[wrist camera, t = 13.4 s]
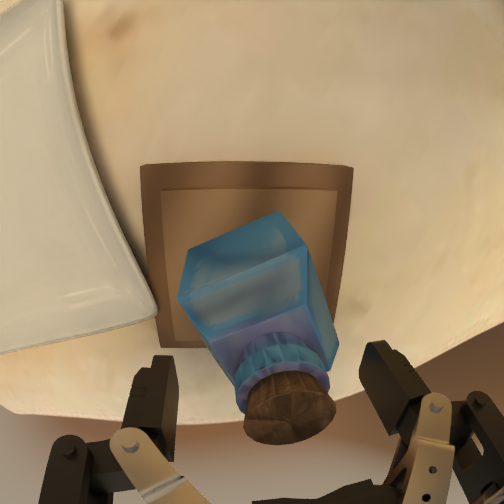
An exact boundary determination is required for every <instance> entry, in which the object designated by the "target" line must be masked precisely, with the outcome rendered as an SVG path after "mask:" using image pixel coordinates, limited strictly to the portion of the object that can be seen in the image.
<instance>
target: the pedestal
mask: <svg viewBox="0 0 504 504" xmlns="http://www.w3.org/2000/svg"><path fill="white" fill-rule="evenodd" d="M140 180H141V198H142V212H143V224H144V235H145V245H146V255H147V263H148V271H149V279H150V286H151V292H152V295H153V297H154V299H155V302H156V304H157V307H158V314H157V315H156V316H155V319H156V325H157V330H158V336H159V341H160V347H161V348H207V346H206V344H205V343H204V341H203V340H202V338H201V337H200V335H199V334H198V332H197V331H196V329H195V327H194V326H193V324H192V323H191V321H190V320H189V318H188V316H187V315H186V313H185V311H184V310H183V308H182V307H181V305H180V303H179V302H178V300H177V295H178V291H179V286H180V282H181V277H182V273H183V269H184V265H185V260H186V256H187V252H188V249H191V248H193V247H195V246H197V245H200V244H202V243H204V242H206V241H209V240H211V239H213V238H216V237H218V236H220V235H222V234H225V233H227V232H229V231H232V230H234V229H236V228H239V227H241V226H243V225H246V224H248V223H250V222H253V221H255V220H257V219H260V218H262V217H264V216H267V215H269V214H272V213H274V212H276V211H280V212H281V214H282V215H283V216H284V217H285V218H286V220H287V221H288V222H289V223H290V224H291V226H292V227H293V228H294V229H295V231H296V232H297V233H298V234H299V235H300V237H301V238H302V239H303V240H304V242H305V243H306V244H307V247H308V250H309V253H310V255H311V258H312V261H313V264H314V267H315V270H316V273H317V276H318V279H319V282H320V285H321V288H322V291H323V294H324V297H325V300H326V303H327V306H328V309H329V312H330V315H331V318H332V322H333V323H334V318H335V312H336V307H337V301H338V295H339V289H340V283H341V276H342V269H343V262H344V255H345V248H346V240H347V232H348V223H349V214H350V204H351V193H352V181H353V168H352V167H348V166H343V165H329V164H313V163H292V162H254V161H220V162H182V163H161V164H145V165H143V166H140Z"/></svg>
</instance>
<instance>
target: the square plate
mask: <svg viewBox="0 0 504 504" xmlns="http://www.w3.org/2000/svg"><path fill="white" fill-rule="evenodd" d="M157 314H158V307H157V304H156V302H155V299H154V297H153V295H152V292H151V290H150V288H149V286H148V284H147V282H146V279H145V277H144V275H143V273H142V271H141V269H140V267H139V265H138V263H137V261H136V259H135V257H134V255H133V253H132V251H131V249H130V247H129V245H128V242H127V240H126V238H125V236H124V234H123V232H122V230H121V227H120V225H119V223H118V221H117V218H116V216H115V214H114V211H113V209H112V207H111V204H110V202H109V200H108V197H107V195H106V192H105V189H104V187H103V184H102V182H101V179H100V176H99V174H98V171H97V168H96V166H95V163H94V160H93V157H92V154H91V151H90V148H89V145H88V141H87V138H86V135H85V132H84V128H83V125H82V121H81V117H80V113H79V109H78V105H77V101H76V97H75V92H74V87H73V81H72V75H71V70H70V63H69V56H68V48H67V40H66V30H65V17H64V4H63V0H19V1H17V2H16V3H15V4H13V5H12V6H11V7H9V8H8V9H7V10H5V11H4V12H3V13H1V14H0V355H1V354H6V353H10V352H15V351H19V350H24V349H29V348H34V347H38V346H42V345H47V344H52V343H57V342H61V341H65V340H69V339H75V338H80V337H84V336H89V335H93V334H97V333H101V332H106V331H110V330H114V329H118V328H122V327H125V326H129V325H133V324H136V323H139V322H142V321H146V320H149V319H152V318H154V317H155V316H156V315H157Z"/></svg>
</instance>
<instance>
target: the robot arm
mask: <svg viewBox="0 0 504 504" xmlns="http://www.w3.org/2000/svg"><path fill="white" fill-rule="evenodd" d="M359 378H360V381H361V383H362V385H363V387H364V389H365V391H366V393H367V395H368V396H369V398H370V400H371V402H372V404H373V406H374V408H375V410H376V412H377V413H378V415H379V417H380V419H381V421H382V423H383V425H384V427H385V429H386V431H387V433H388V435H389V436H390V435H393V434H396V433H399V434H400V436H401V437H400V438H399V440H398V443H397V447H396V450H395V454H394V457H393V460H392V463H391V466H390V470H389V472H388V475H387V477H386V479H385V480H384V482H383V484H382V485H373V483H372V481H371V479H368V480H365V481H361V482H358V483H354V484H350V485H346V486H343V487H342V488H339V489H337V490H335V491H334V492H331V493H329V494H327V495H325V496H322V497H320V498H318V499H292V498H278V499H270V500H260V501H252V504H446V500H447V495H448V490H449V485H450V479H451V474H452V468H453V470H454V472H455V474H456V476H457V478H458V480H459V483H460V485H461V487H462V489H463V491H464V493H465V495H466V497H467V499H468V502H469V504H504V416H503V415H502V414H501V412H500V411H499V410H498V408H497V407H496V405H495V404H494V403H493V401H492V400H491V399H490V397H489V396H488V395H487V394H485V393H483V392H480V391H473V392H471V393H469V395H468V396H467V398H466V400H465V401H452V402H450V401H449V399H448V398H447V397H445V396H444V395H442V394H438V393H432V392H431V391H430V390H429V388H428V387H427V386H426V384H425V383H424V381H423V380H422V379H421V377H420V376H419V375H418V373H417V372H416V371H415V369H414V368H413V367H412V365H410V363H409V361H408V360H407V359H406V357H405V356H404V355H403V354H401V353H400V352H398V351H397V350H395V349H394V350H392V348H391V347H390V346H389V344H388V343H387V342H386V341H385V340H380V341H374V342H369V343H367V345H366V347H365V351H364V354H363V358H362V361H361V364H360V367H359ZM178 400H179V385H178V379H177V374H176V368H175V363H174V358H173V356H167V355H154V357H153V360H152V365H151V368H141V369H140V370H139V371H138V372H137V374H136V375H135V376H134V379H133V383H132V388H131V391H130V396H129V398H128V402H127V406H126V411H125V415H124V419H123V423H122V427H121V429H120V430H118V431H117V432H115V434H113V436H112V437H111V438H110V439H108V440H104V441H98V442H90V443H85V442H84V441H83V440H82V439H81V438H80V437H78V436H74V435H65V436H62V437H60V438H58V439H57V440H56V441H55V442H54V444H53V446H52V449H51V452H50V456H49V460H48V463H47V467H46V471H45V476H44V480H43V484H42V489H41V493H40V499H39V504H113V493H114V492H120V491H126V490H133V489H137V491H138V492H139V494H140V495H141V496H142V498H143V499H144V501H145V502H146V503H147V504H211V503H210V502H209V501H208V500H207V499H206V498H205V497H204V496H203V495H202V494H201V493H200V492H199V491H198V490H197V489H196V488H195V487H194V486H193V485H192V484H191V483H190V482H189V481H188V480H187V479H186V478H185V477H184V476H181V475H179V473H178V472H177V471H176V470H175V469H174V468H173V467H172V466H171V464H170V463H169V462H174V450H175V436H176V423H177V411H178ZM474 433H475V434H476V436H477V438H478V439H479V441H480V443H481V444H482V446H483V448H484V453H483V456H482V455H481V453H480V451H479V450H478V448H477V446H476V445H475V443H474V441H473V439H472V438H471V437H472V435H473V434H474Z"/></svg>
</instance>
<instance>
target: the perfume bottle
mask: <svg viewBox="0 0 504 504" xmlns="http://www.w3.org/2000/svg"><path fill="white" fill-rule="evenodd" d="M177 300H178V302H179V303H180V305H181V307H182V308H183V310H184V311H185V313H186V315H187V316H188V318H189V320H190V321H191V323H192V324H193V326H194V327H195V329H196V331H197V332H198V334H199V335H200V337H201V338H202V340H203V341H204V343H205V344H206V346H207V348H208V349H209V351H210V352H211V354H212V355H213V357H214V358H215V359H216V361H217V362H218V364H219V365H220V367H221V368H222V370H223V371H224V373H225V374H226V376H227V377H228V378H229V380H230V381H231V383H232V384H233V385H234V387H235V394H236V403H237V405H238V407H239V409H240V411H241V412H242V413H244V414H245V418H244V427H243V428H244V430H245V432H246V434H247V436H249V437H250V438H252V439H253V440H254V441H257V442H260V443H263V444H269V445H285V444H292V443H295V442H299V441H303V440H306V439H308V438H310V437H312V436H314V435H316V434H318V433H319V432H321V431H322V430H323V429H325V428H326V427H327V426H328V425H329V423H330V422H331V421H332V420H333V418H334V416H335V413H336V404H335V402H334V401H333V400H332V398H331V397H330V396H329V394H328V391H329V389H330V382H329V377H328V374H327V371H329V370H330V369H331V367H332V364H333V361H334V358H335V355H336V352H337V349H338V347H339V341H338V338H337V334H336V331H335V328H334V325H333V322H332V318H331V315H330V312H329V309H328V306H327V303H326V300H325V297H324V294H323V291H322V288H321V285H320V282H319V279H318V276H317V273H316V270H315V267H314V264H313V261H312V258H311V255H310V253H309V250H308V247H307V244H306V243H305V242H304V240H303V239H302V238H301V237H300V235H299V234H298V233H297V232H296V231H295V229H294V228H293V227H292V226H291V224H290V223H289V222H288V221H287V220H286V218H285V217H284V216H283V215H282V214H281V212H280V211H276V212H274V213H272V214H269V215H267V216H264V217H262V218H260V219H257V220H255V221H253V222H250V223H248V224H246V225H243V226H241V227H239V228H236V229H234V230H232V231H229V232H227V233H225V234H222V235H220V236H218V237H216V238H213V239H211V240H209V241H206V242H204V243H202V244H200V245H197V246H195V247H193V248H191V249H188V252H187V256H186V260H185V265H184V269H183V273H182V277H181V282H180V286H179V291H178V295H177Z"/></svg>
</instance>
